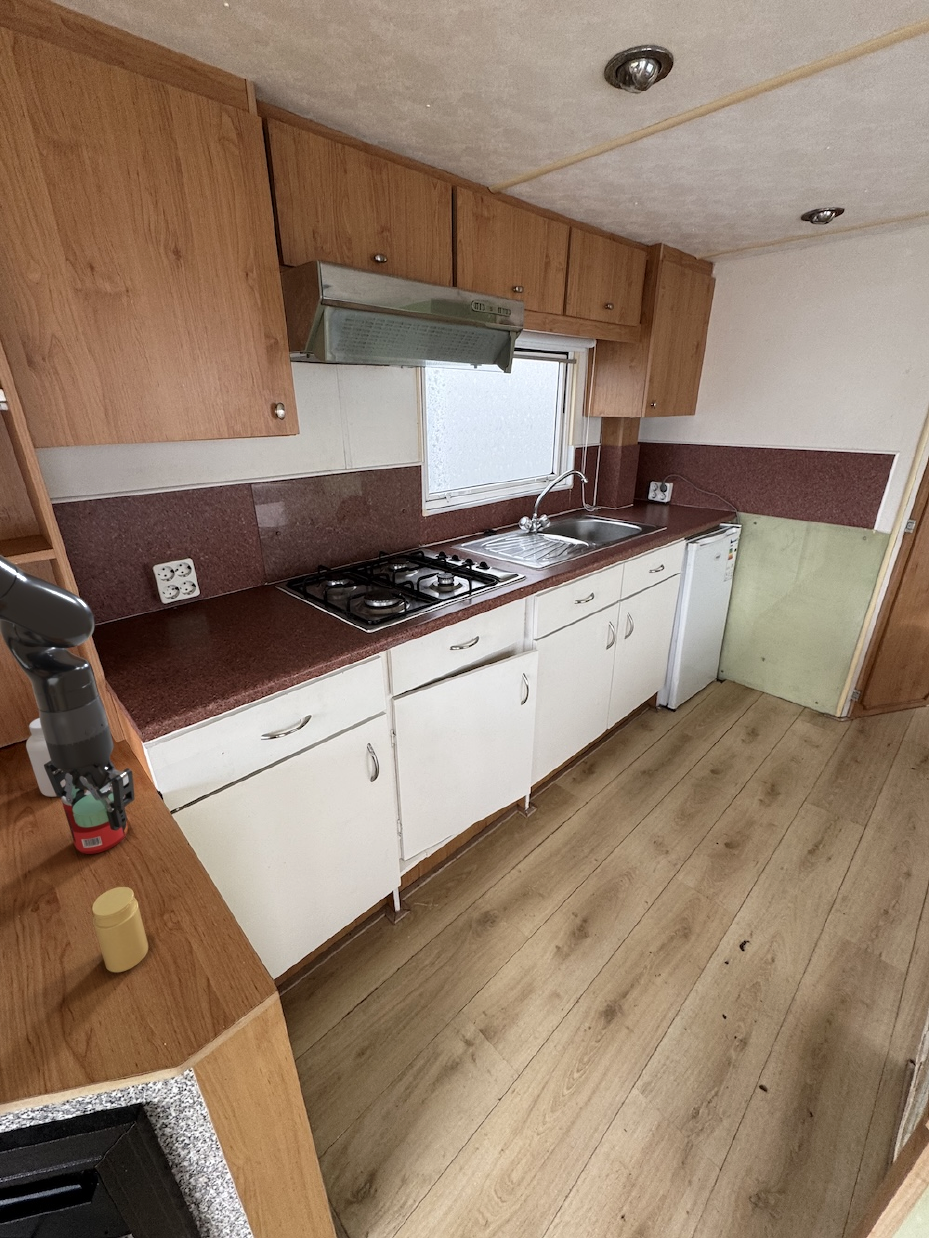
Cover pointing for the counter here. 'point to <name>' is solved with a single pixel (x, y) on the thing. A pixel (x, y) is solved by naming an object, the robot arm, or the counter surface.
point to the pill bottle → (40, 758)
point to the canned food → (93, 832)
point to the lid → (90, 811)
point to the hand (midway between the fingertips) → (101, 822)
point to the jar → (119, 929)
